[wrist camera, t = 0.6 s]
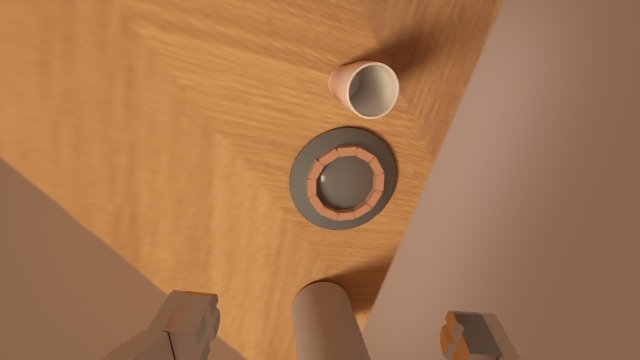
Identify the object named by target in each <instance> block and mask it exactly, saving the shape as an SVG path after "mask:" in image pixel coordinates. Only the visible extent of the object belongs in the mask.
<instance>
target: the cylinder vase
mask: <svg viewBox="0 0 640 360" xmlns="http://www.w3.org/2000/svg"><path fill="white" fill-rule="evenodd" d="M292 318H293V327H294V335H295V344H296V353H297V360H370V357H369V354H368V351H367V348H366V345H365V343H364V340H363V337H362V334H361V331H360V329H359V326H358V323H357V320H356V317H355V315H354V312H353V309H352V306H351V303H350V301H349V298H348V295H347V293H346V292H345V290H344V289H343V288H342V287H340V286H339V285H337V284H335V283H331V282H317V283H313V284H310V285H308V286H306V287H305V288H303V289H302V290H301V291H300V292H299V293H298V294H297V295H296V297H295V298H294V300H293V303H292Z"/></svg>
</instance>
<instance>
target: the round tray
mask: <svg viewBox="0 0 640 360" xmlns="http://www.w3.org/2000/svg"><path fill="white" fill-rule="evenodd" d="M395 183H396V165H395V162H394V158H393V156H392V154H391V152H390V150H389V149H388V147H387V146H386V145H385V144H384V142H382V141H381V140H380V139H379V138H378V137H376V136H375V135H373V134H372V133H369V132H367V131H365V130H361V129H358V128H346V127H344V128H336V129H332V130H329V131H326V132H324V133H322V134H320V135H318V136H316V137H315V138H313V139H312V140H311V141H309V142H308V143H307V144H306V145H305V146H304V147H303V149H302V150H301V151H300V152H299V154H298V156H297V157H296V159H295V161H294V163H293V166H292V169H291V174H290V192H291V196H292V199H293V202H294V204H295V206H296V208H297V209H298V211H299V212H300V213H301V214H302V216H303V217H305V218H306V219H307V220H308V221H310V222H311V223H313V224H315V225H317V226H319V227H322V228H325V229H331V230H345V229H351V228H354V227H357V226H360V225H362V224H364V223H366V222H368V221H370V220H371V219H372V218H374V217H375V216H376V215H377V214H379V213H380V212H381V210H382V209H383V208H384V207H385V206H386V204H387V203H388V201H389V199H390V198H391V196H392V193H393V191H394V187H395Z"/></svg>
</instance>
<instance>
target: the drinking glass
mask: <svg viewBox="0 0 640 360" xmlns="http://www.w3.org/2000/svg"><path fill="white" fill-rule="evenodd" d="M328 86H329V90H330V92H331V93H332V94H333V96H335V97H336V98H337V99H338V100H339V101H340V102H341V103H342V104H343V106H344V107H345V108H347V109H348V110H349V111H350V112H352V113H354V114H356V115H358V116H360V117H362V118H366V119H375V118H379V117H382V116H384V115H385V114H387V113H388V112H389V111H390V110H391V109H392V108H393V106H394V105H395V103H396V101H397V99H398V95H399V81H398V78H397V76H396V74H395V72H394V71H393V70H392V69H391V68H390V67H389V66H387V65H386V64H383V63H380V62H375V61H360V62H356V63H352V64H349V65H342V66H339V67H337V68H335V69H334V70H333V71H332V72H331V74H330V76H329V80H328Z"/></svg>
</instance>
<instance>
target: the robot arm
mask: <svg viewBox="0 0 640 360" xmlns="http://www.w3.org/2000/svg"><path fill="white" fill-rule="evenodd" d="M217 303H218V297H217V294H211V293H201V292H191V291H179V290H173V291H172V292H171V293H170V294H169V295H168V297H167V298H166V300H165V301H164V303H163V305H162V306H161V308H160V309H159V311H158V313H157V314H156V316H155V317H154V319H153V321H152V322H151V324H150V325H149V327H148V329H147V330H142V331H140V332H139V333H137V334H136V335H134V336H133V337H131V338H130V339H129V340H127V341H125V342H124V343H123V344H121V345H120V346H118V347H117V348H115V349H114V350H112V351H111V352H110V353H108V354H106V355H105V356H103V357H102V358H100V359H99V360H207V358H208V355H209V352H210V347H209V343H210V342H211V341H212V340H214V339H215V337H216V334H217V331H218V327H219V322H220V311H219V309H218V308H217V307H216V305H217ZM445 319H446V322H447V324H446V325H444V326H443V327H442V329H441V332H440V344H441V349H442V352H443V355H444V357H445V358H446V359H447V360H526V359H521V358H520V356H519V354H518V353H517V351H516V349H515V347H514V346H513V344H512V342H511V341H510V339H509V337H508V335H507V334H506V332H505V330H504V328H503V326H502V325H501V323H500V321H499V320H498V318H497V316H496V315H495V314H490V313H477V312H463V311H449V312H448V313H447V314H446V317H445Z"/></svg>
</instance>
